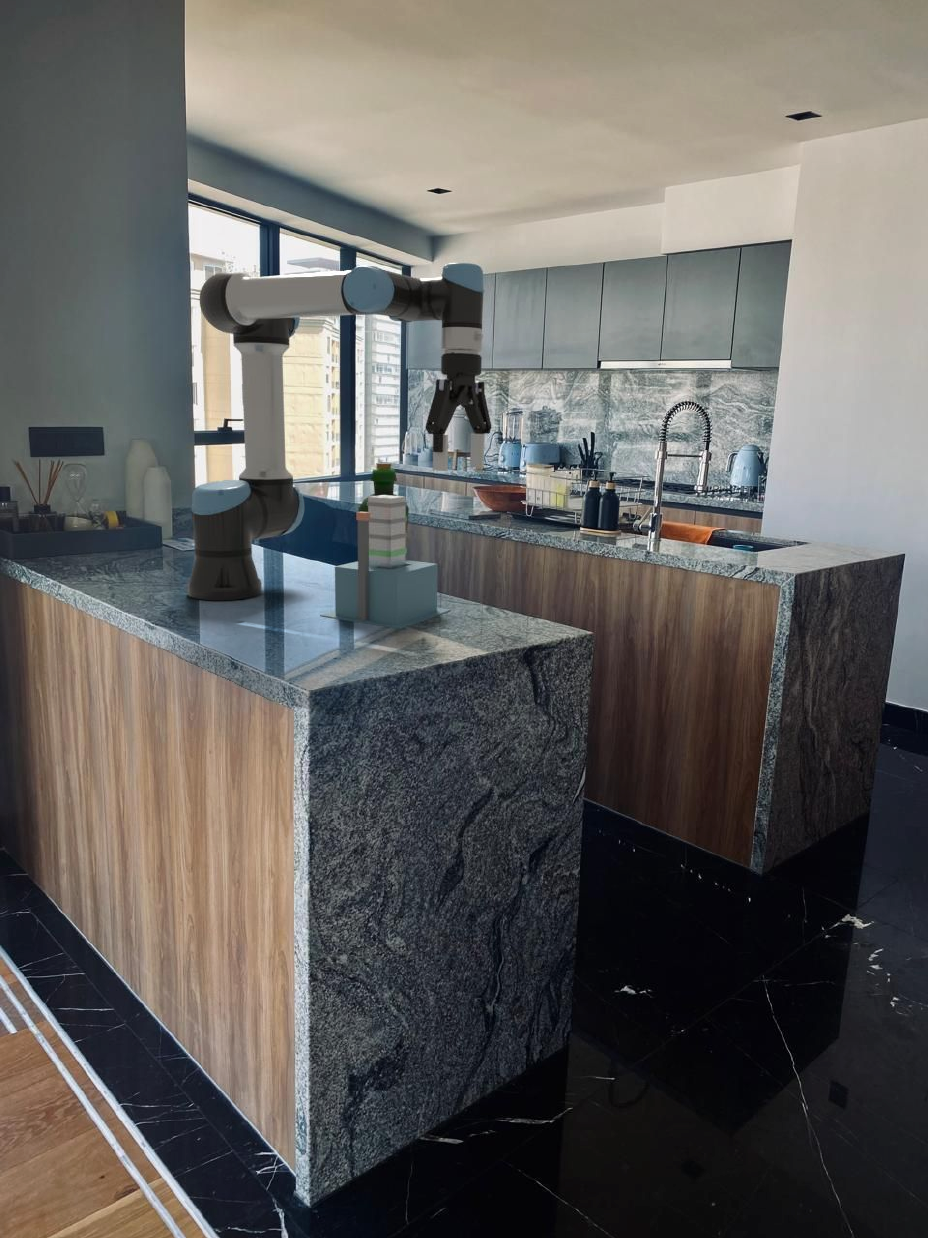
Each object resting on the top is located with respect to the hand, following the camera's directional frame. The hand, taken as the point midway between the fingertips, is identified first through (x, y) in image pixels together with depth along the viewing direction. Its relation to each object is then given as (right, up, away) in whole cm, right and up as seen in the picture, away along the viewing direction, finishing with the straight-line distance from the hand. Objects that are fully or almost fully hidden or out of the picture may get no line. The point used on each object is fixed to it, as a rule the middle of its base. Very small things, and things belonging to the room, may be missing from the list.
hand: (459, 469), depth 168 cm
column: (-14, -27, +1) cm, 31 cm away
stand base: (-14, -28, +1) cm, 31 cm away
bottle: (-16, -24, +19) cm, 35 cm away
